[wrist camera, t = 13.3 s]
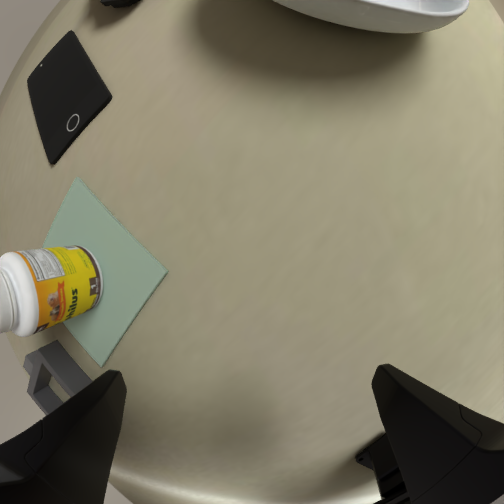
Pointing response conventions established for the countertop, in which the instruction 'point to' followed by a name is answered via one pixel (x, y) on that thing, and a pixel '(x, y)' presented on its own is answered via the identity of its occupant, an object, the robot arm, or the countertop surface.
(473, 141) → the countertop surface
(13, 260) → the supplement bottle
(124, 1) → the gadget
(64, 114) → the cell phone
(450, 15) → the serving bowl
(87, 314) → the mat
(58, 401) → the collar
